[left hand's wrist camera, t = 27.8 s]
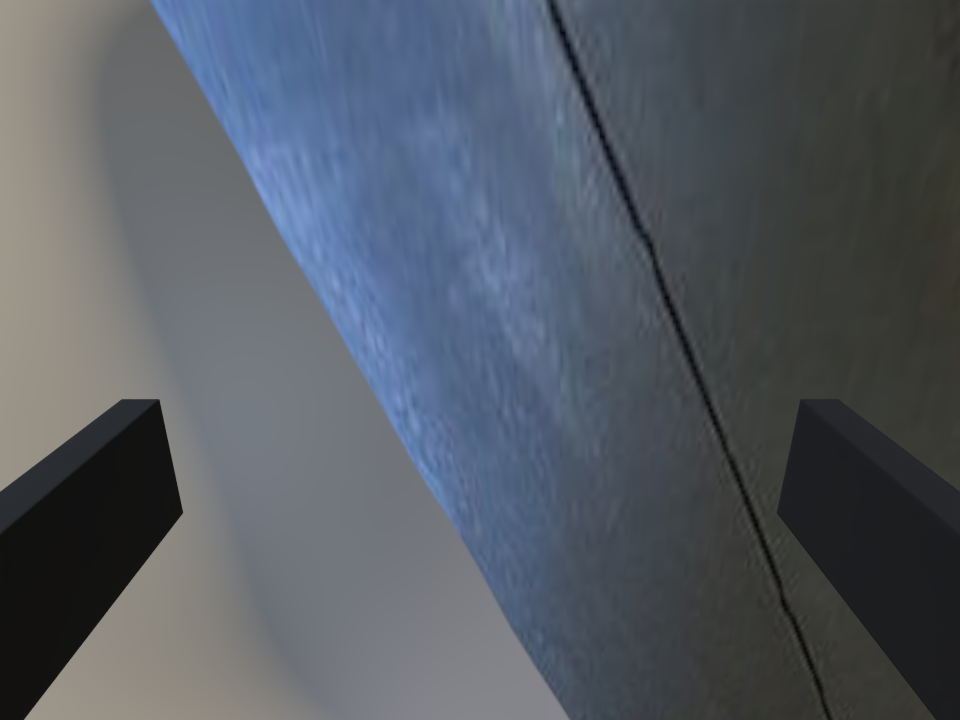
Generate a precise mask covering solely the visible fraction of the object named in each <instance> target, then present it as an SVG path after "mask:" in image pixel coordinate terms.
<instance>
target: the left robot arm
mask: <svg viewBox="0 0 960 720" xmlns="http://www.w3.org/2000/svg"><path fill="white" fill-rule="evenodd" d="M182 514H183V510H182V505H181V500H180V496H179V491H178V486H177V481H176V477H175V472H174V467H173V462H172V458H171V453H170V448H169V443H168V439H167V434H166V429H165V424H164V420H163V415H162V410H161V405H160V400H159V399H122V400H120V401H119V402H118V403H117V404H115V405H114V406H112V407H111V408H110V409H109V410H107V411H106V412H105V413H103V414H102V415H101V416H99V417H98V418H97V419H95V420H94V421H93V422H91V423H90V424H89V425H87V426H86V427H85V428H84V429H82V430H81V431H80V432H78V433H77V434H76V435H74V436H73V437H72V438H70V439H69V440H68V441H66V442H65V443H64V444H63V445H61V446H60V447H59V448H57V449H56V450H55V451H53V452H52V453H51V454H49V455H48V456H47V457H45V458H44V459H43V460H41V461H40V462H39V463H38V464H36V465H35V466H34V467H32V468H31V469H30V470H28V471H27V472H26V473H24V474H23V475H22V476H20V477H19V478H18V479H17V480H15V481H14V482H12V483H11V484H10V485H9V486H7V487H6V488H5V489H3V490H2V491H1V492H0V720H24V719H25V717H26V716H27V715H28V714H29V712H30V711H31V710H32V708H33V707H34V706H35V705H36V703H37V702H38V701H39V699H40V698H41V697H42V695H43V694H44V693H45V692H46V690H47V689H48V688H49V686H50V685H51V684H52V682H53V681H54V680H55V679H56V677H57V676H58V675H59V673H60V672H61V671H62V670H63V668H64V667H65V666H66V664H67V663H68V662H69V660H70V659H71V658H72V657H73V655H74V654H75V653H76V651H77V650H78V649H79V647H80V646H81V645H82V644H83V642H84V641H85V640H86V638H87V637H88V636H89V634H90V633H91V632H92V631H93V629H94V628H95V627H96V625H97V624H98V623H99V621H100V620H101V619H102V618H103V616H104V615H105V614H106V612H107V611H108V610H109V608H110V607H111V606H112V604H113V603H114V602H115V601H116V599H117V598H118V597H119V595H120V594H121V593H122V592H123V590H124V589H125V588H126V586H127V585H128V584H129V582H130V581H131V580H132V579H133V577H134V576H135V575H136V573H137V572H138V571H139V569H140V568H141V567H142V566H143V564H144V563H145V562H146V560H147V559H148V558H149V556H150V555H151V554H152V553H153V551H154V550H155V549H156V547H157V546H158V545H159V543H160V542H161V541H162V540H163V538H164V537H165V536H166V534H167V533H168V532H169V530H170V529H171V528H172V527H173V525H174V524H175V523H176V521H177V520H178V519H179V518H180V516H181V515H182ZM777 514H778V515H779V516H780V518H781V519H782V520H783V521H784V523H785V524H786V525H787V527H788V528H789V529H790V531H791V532H792V533H793V534H794V536H795V537H796V538H797V540H798V541H799V542H800V544H801V545H802V546H803V547H804V549H805V550H806V551H807V553H808V554H809V555H810V556H811V558H812V559H813V560H814V562H815V563H816V564H817V566H818V567H819V568H820V569H821V571H822V572H823V573H824V575H825V576H826V577H827V579H828V580H829V581H830V582H831V584H832V585H833V586H834V588H835V589H836V590H837V592H838V593H839V594H840V595H841V597H842V598H843V599H844V601H845V602H846V603H847V605H848V606H849V607H850V608H851V610H852V611H853V612H854V614H855V615H856V616H857V618H858V619H859V620H860V621H861V623H862V624H863V625H864V627H865V628H866V629H867V631H868V632H869V633H870V634H871V636H872V637H873V638H874V640H875V641H876V642H877V644H878V645H879V646H880V647H881V649H882V650H883V651H884V653H885V654H886V655H887V657H888V658H889V659H890V660H891V662H892V663H893V664H894V666H895V667H896V668H897V670H898V671H899V672H900V673H901V675H902V676H903V677H904V679H905V680H906V681H907V683H908V684H909V685H910V686H911V688H912V689H913V690H914V692H915V693H916V694H917V695H918V697H919V698H920V699H921V701H922V702H923V703H924V705H925V706H926V707H927V708H928V710H929V711H930V712H931V714H932V715H933V716H934V718H935V719H936V720H960V492H959V491H958V490H957V489H955V488H954V487H953V486H951V485H950V484H949V483H948V482H946V481H945V480H944V479H942V478H941V477H940V476H938V475H937V474H936V473H934V472H933V471H932V470H930V469H929V468H928V467H926V466H925V465H924V464H923V463H921V462H920V461H919V460H917V459H916V458H915V457H913V456H912V455H911V454H909V453H908V452H907V451H905V450H904V449H903V448H901V447H900V446H899V445H898V444H896V443H895V442H894V441H892V440H891V439H890V438H888V437H887V436H886V435H884V434H883V433H882V432H880V431H879V430H878V429H876V428H875V427H874V426H873V425H871V424H870V423H869V422H867V421H866V420H865V419H863V418H862V417H861V416H859V415H858V414H857V413H855V412H854V411H853V410H851V409H850V408H849V407H848V406H846V405H845V404H844V403H842V402H841V401H840V400H838V399H801V400H800V405H799V410H798V415H797V419H796V424H795V429H794V434H793V439H792V443H791V448H790V453H789V458H788V462H787V467H786V472H785V477H784V481H783V486H782V491H781V496H780V500H779V505H778V510H777Z"/></svg>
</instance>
